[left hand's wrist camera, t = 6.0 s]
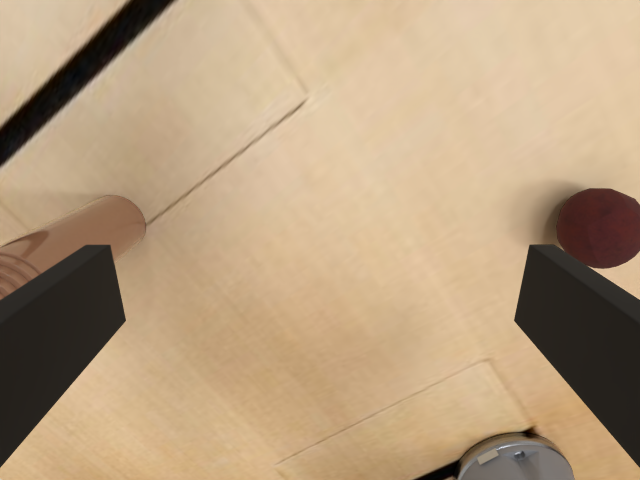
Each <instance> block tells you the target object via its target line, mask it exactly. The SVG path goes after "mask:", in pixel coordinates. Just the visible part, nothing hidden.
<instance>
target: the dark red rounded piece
mask: <svg viewBox="0 0 640 480" xmlns="http://www.w3.org/2000/svg"><path fill="white" fill-rule="evenodd" d="M557 238H558V241H559V243H560V244H561V246H562V247H563V249H564V251H565V252H566V253H568V254H569V255H571V256H572V257H574V258H575V259H577V260H579V261H580V262H582V263H583V264H585V265H587V266H590V267H593V268H601V269H604V268H611V267H616V266H619V265H621V264H623V263H626V262H628V261H629V260H630V259H632V258H633V257H635V256H636V255H637V253H638V252H639V251H640V205H639V203H638V202H637V201H636V199H634V198H632V197H629V196H627V195H625V194H623V193H620V192H618V191H615V190H613V189H587V190H584V191H581V192H579V193H576V194H575V195H573V196H572V197H571V198H570V199H569V200H567V201H566V203H565V204H564V206H563V208H562V209H561V212H560V215H559V219H558V222H557Z"/></svg>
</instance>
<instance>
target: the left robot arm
mask: <svg viewBox="0 0 640 480" xmlns="http://www.w3.org/2000/svg"><path fill="white" fill-rule="evenodd" d="M125 321H126V319H125V314H124V309H123V304H122V299H121V294H120V289H119V284H118V279H117V275H116V270H115V265H114V260H113V255H112V250H111V245H85V246H83V247H82V248H80V249H78V250H77V251H75V252H74V253H72V254H71V255H69V256H68V257H66V258H65V259H63V260H61V261H60V262H58V263H57V264H55V265H54V266H52V267H51V268H49V269H47V270H46V271H44V272H43V273H41V274H40V275H38V276H37V277H35V278H34V279H32V280H30V281H29V282H27V283H26V284H24V285H23V286H21V287H20V288H18V289H17V290H15V291H13V292H12V293H10V294H9V295H7V296H6V297H4V298H3V299H1V300H0V467H1V466H2V465H3V464H4V463H5V462H6V460H7V459H8V458H9V457H10V456H11V454H12V453H13V452H14V451H15V450H16V449H17V447H18V446H19V445H20V444H21V443H22V442H23V440H24V439H25V438H26V437H27V436H28V435H29V433H30V432H31V431H32V430H33V429H34V428H35V426H36V425H37V424H38V423H39V422H40V421H41V419H42V418H43V417H44V416H45V415H46V414H47V412H48V411H49V410H50V409H51V408H52V407H53V405H54V404H55V403H56V402H57V401H58V399H59V398H60V397H61V396H62V395H63V394H64V392H65V391H66V390H67V389H68V388H69V387H70V385H71V384H72V383H73V382H74V381H75V380H76V378H77V377H78V376H79V375H80V374H81V373H82V371H83V370H84V369H85V368H86V367H87V366H88V364H89V363H90V362H91V361H92V360H93V359H94V357H95V356H96V355H97V354H98V353H99V351H100V350H101V349H102V348H103V347H104V346H105V344H106V343H107V342H108V341H109V340H110V339H111V337H112V336H113V335H114V334H115V333H116V332H117V330H118V329H119V328H120V327H121V326H122V325H123V323H124V322H125ZM514 321H515V322H516V323H517V325H518V326H519V327H520V328H521V329H522V330H523V332H524V333H525V334H526V335H527V336H528V337H529V339H530V340H531V341H532V342H533V343H534V344H535V346H536V347H537V348H538V349H539V350H540V351H541V353H542V354H543V355H544V356H545V357H546V359H547V360H548V361H549V362H550V363H551V364H552V366H553V367H554V368H555V369H556V370H557V371H558V373H559V374H560V375H561V376H562V377H563V378H564V380H565V381H566V382H567V383H568V384H569V385H570V387H571V388H572V389H573V390H574V391H575V392H576V394H577V395H578V396H579V397H580V398H581V399H582V401H583V402H584V403H585V404H586V405H587V407H588V408H589V409H590V410H591V411H592V412H593V414H594V415H595V416H596V417H597V418H598V419H599V421H600V422H601V423H602V424H603V425H604V426H605V428H606V429H607V430H608V431H609V432H610V433H611V435H612V436H613V437H614V438H615V439H616V440H617V442H618V443H619V444H620V445H621V446H622V447H623V449H624V450H625V451H626V452H627V453H628V454H629V456H630V457H631V458H632V459H633V460H634V462H635V463H636V464H637V465H638V466H639V467H640V300H639V299H637V298H636V297H634V296H633V295H631V294H630V293H628V292H627V291H625V290H623V289H622V288H620V287H619V286H617V285H616V284H614V283H613V282H611V281H610V280H608V279H606V278H605V277H603V276H602V275H600V274H599V273H597V272H596V271H594V270H593V269H591V268H589V267H588V266H586V265H585V264H583V263H582V262H580V261H579V260H577V259H575V258H574V257H572V256H571V255H569V254H568V253H566V252H565V251H563V250H562V249H560V248H558V247H557V246H555V245H529V250H528V255H527V260H526V265H525V270H524V274H523V279H522V284H521V289H520V294H519V299H518V304H517V309H516V314H515V319H514Z"/></svg>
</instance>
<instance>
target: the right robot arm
mask: <svg viewBox="0 0 640 480" xmlns="http://www.w3.org/2000/svg"><path fill="white" fill-rule="evenodd" d="M453 480H575V479H574V475H573V472H572V469H571V466H570V464H569V463H568V461H567V460H566V458H565V457H564V455H563V454H562V452H561V451H560V449H559V448H558V447H557V446H556V445H555V444H554V443H552V442H551V441H549V440H547V439H545V438H543V437H540V436H537V435H534V434H527V433H510V434H504V435H499V436H495V437H492V438H490V439H487V440H485V441H483V442H481V443H479V444H477V445H476V446H474V447H473V448H472V449H470V450H469V451H468V452H467V453H466V454H465V455H464V456H463V457H462V458H461V460H460V461H459V463H458V464H457V466H456V468H455V472H454V476H453Z"/></svg>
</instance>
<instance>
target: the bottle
mask: <svg viewBox="0 0 640 480" xmlns="http://www.w3.org/2000/svg"><path fill="white" fill-rule="evenodd" d="M145 230H146V225H145V220H144V217H143V215H142V213H141V211H140V210H139V209H138V207H137V206H136V205H135V204H134V203H132V202H131V201H129V200H128V199H125V198H123V197H120V196H114V195H108V196H104V197H101V198H99V199H97V200H94V201H92V202H90V203H88V204H86V205H84V206H82V207H80V208H78V209H75V210H73V211H71V212H69V213H67V214H65V215H63V216H61V217H59V218H56V219H54V220H52V221H50V222H48V223H46V224H44V225H42V226H40V227H38V228H35V229H33V230H31V231H29V232H27V233H25V234H23V235H21V236H19V237H16V238H14V239H12V240H10V241H8V242H6V243H4V244H2V245H0V300H1V299H3V298H4V297H6V296H7V295H9V294H10V293H12V292H13V291H15V290H17V289H18V288H20V287H21V286H23V285H24V284H26V283H27V282H29V281H30V280H32V279H34V278H35V277H37V276H38V275H40V274H41V273H43V272H44V271H46V270H47V269H49V268H51V267H52V266H54V265H55V264H57V263H58V262H60V261H61V260H63V259H65V258H66V257H68V256H69V255H71V254H72V253H74V252H75V251H77V250H78V249H80V248H82V247H83V246H85V245H111V250H112V255H113V260H114V263H116V262H117V261H118V260H119V259H120V258H122V257H123V256H124V255H125V254H127V253H128V252H129V251H130V250H131V249H133V248H134V247H135V246H136V245H137V244H139V243H140V241H141V240H142V239H143V237H144V234H145Z"/></svg>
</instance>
